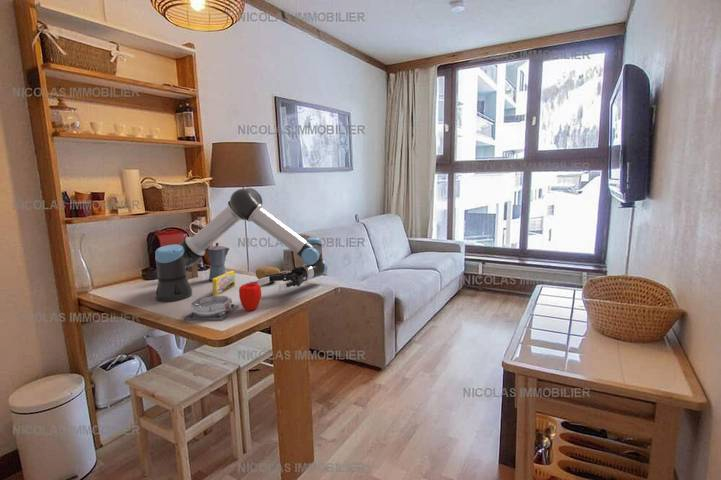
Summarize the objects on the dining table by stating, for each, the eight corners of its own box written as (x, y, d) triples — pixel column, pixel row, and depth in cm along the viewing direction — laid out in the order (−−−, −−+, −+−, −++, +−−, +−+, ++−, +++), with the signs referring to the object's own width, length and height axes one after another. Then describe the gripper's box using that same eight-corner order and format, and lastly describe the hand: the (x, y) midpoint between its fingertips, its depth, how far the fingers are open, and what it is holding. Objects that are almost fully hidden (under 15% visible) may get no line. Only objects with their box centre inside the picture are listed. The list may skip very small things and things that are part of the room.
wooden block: (198, 276, 208) (195, 245, 205) (180, 281, 199) (176, 248, 196) (194, 275, 210) (191, 244, 207) (176, 280, 201) (172, 247, 198)
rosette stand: (184, 320, 142) (183, 307, 141) (204, 306, 157) (203, 295, 156) (222, 320, 141) (221, 307, 140) (238, 307, 156) (237, 295, 155)
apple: (260, 312, 148) (258, 286, 147) (237, 313, 148) (235, 287, 146) (264, 305, 157) (262, 280, 155) (243, 306, 156) (241, 281, 155)
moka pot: (231, 280, 198) (228, 243, 195) (200, 282, 195) (196, 245, 192) (233, 276, 207) (230, 240, 204) (203, 278, 204) (200, 242, 201)
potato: (263, 278, 201) (262, 264, 199) (285, 280, 195) (284, 266, 193) (251, 283, 192) (250, 268, 191) (273, 285, 186) (272, 270, 185)
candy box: (216, 296, 171) (215, 279, 170) (212, 296, 172) (211, 279, 170) (235, 286, 187) (234, 270, 185) (232, 286, 187) (230, 270, 186)
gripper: (323, 284, 171) (290, 297, 153) (283, 278, 184) (249, 289, 167) (322, 268, 169) (289, 280, 152) (282, 263, 183) (248, 273, 165)
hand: (268, 285), depth 159 cm, fingers open, 13 cm apart
